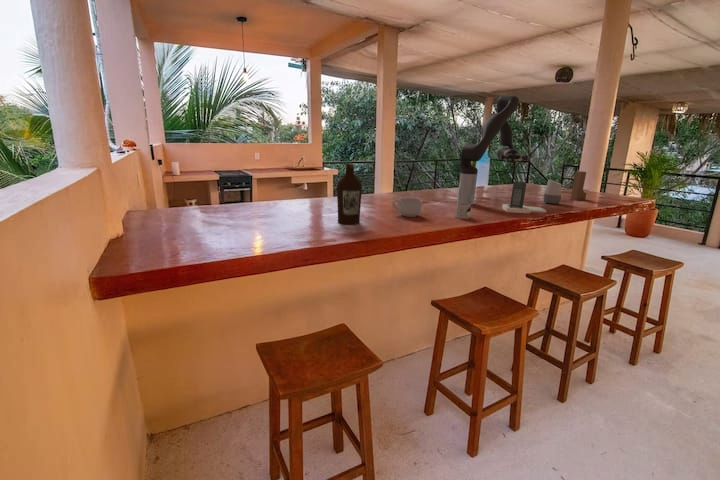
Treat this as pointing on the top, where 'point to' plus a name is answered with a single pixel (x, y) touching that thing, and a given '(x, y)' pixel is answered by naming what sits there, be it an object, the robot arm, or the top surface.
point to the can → (518, 195)
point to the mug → (463, 210)
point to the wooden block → (578, 186)
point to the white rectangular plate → (536, 209)
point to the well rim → (516, 209)
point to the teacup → (408, 206)
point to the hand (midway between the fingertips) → (516, 158)
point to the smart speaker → (552, 192)
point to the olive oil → (349, 197)
